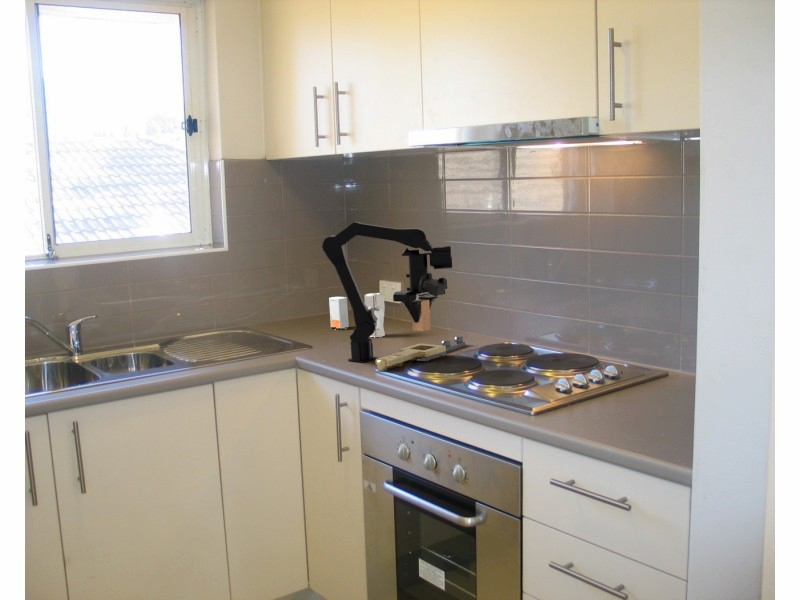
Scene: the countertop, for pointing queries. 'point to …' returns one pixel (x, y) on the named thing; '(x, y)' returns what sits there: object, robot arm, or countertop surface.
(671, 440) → the countertop surface
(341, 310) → the skincare box
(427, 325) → the reddish tan block
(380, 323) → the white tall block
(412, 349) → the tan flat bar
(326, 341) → the countertop surface
